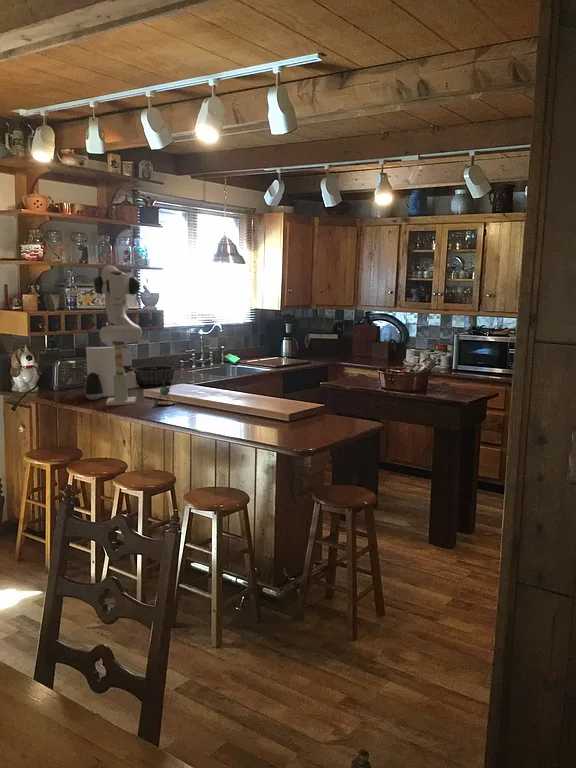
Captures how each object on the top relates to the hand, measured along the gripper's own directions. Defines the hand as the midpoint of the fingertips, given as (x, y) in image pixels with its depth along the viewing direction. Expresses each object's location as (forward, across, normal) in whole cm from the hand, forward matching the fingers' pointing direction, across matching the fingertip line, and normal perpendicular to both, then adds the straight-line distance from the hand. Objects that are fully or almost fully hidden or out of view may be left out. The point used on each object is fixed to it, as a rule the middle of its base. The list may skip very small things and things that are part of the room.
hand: (119, 325), depth 383 cm
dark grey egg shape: (+41, 0, -16) cm, 44 cm away
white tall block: (+41, -15, -12) cm, 46 cm away
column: (+33, +14, 0) cm, 36 cm away
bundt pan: (+41, -48, +16) cm, 65 cm away
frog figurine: (+42, +27, +23) cm, 55 cm away
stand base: (+41, +14, 0) cm, 43 cm away
